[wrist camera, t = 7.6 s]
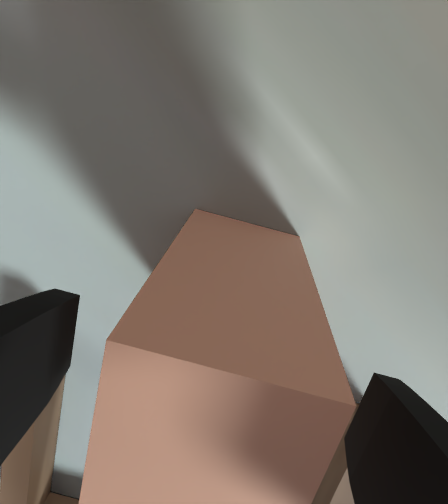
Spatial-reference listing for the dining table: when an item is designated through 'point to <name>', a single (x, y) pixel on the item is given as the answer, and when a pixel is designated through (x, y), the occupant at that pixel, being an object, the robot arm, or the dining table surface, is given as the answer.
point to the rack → (42, 500)
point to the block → (219, 377)
